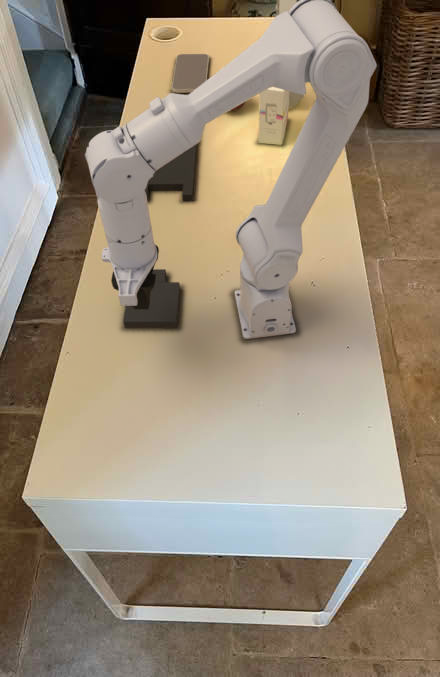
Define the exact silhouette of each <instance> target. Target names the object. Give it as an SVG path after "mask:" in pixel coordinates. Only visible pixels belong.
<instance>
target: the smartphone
mask: <svg viewBox="0 0 440 677" xmlns="http://www.w3.org/2000/svg"><path fill="white" fill-rule="evenodd" d="M209 56H210V55H209V54H207V53H179V54H177V55H176V58H175V66H174V72H173V78H172V84H171V90H172V93H175V94H182V93H184V94H190V93H191V92H193V91H194V90H195V89H197V88H198V87H199V86H200V85H202V84H203V83H204V82H205V81H207V80H208V71H209V62H210V57H209Z"/></svg>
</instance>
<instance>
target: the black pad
mask: <svg viewBox="0 0 440 677" xmlns="http://www.w3.org/2000/svg"><path fill="white" fill-rule="evenodd" d="M197 150H198V143H197V144H196V145H194V146H193V147H191V148H190V149H188V150H186V151H185V152H183V153H182V154H180V155H179V156H177V157H176V158H174V159H173V160H171V161H170V162H168V163H167V164H165V165H164V166H162V167H161V168H159V169H158V170H156V171H155V173H154V174H153V177H151V178H150V179H149V180H148V183H147V186H146V189H145V193H146V196H147V202H148V201H149V194H150V191H151V192H152V191H153V192H154V191H182V201H183V202H193V201H194V190H195V178H196V165H197V164H196V162H197Z"/></svg>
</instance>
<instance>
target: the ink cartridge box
mask: <svg viewBox="0 0 440 677" xmlns="http://www.w3.org/2000/svg"><path fill="white" fill-rule="evenodd" d="M289 94H290V91H287V90H283V89H279V88H276V87H270V88H268V89H267V90H265V91H263V92H261V93H260V94H258V95H259V96H258V97H259V100H258V101H259V102H258V103H259V104H258V105H259V106H258V110H259V111H258V115H259V116H258V143H259V144H268V145H279V146H281V145H283V142H284V139H285V134H286V130H287V129H286V128H287V124H288V120H289V109H290V108H289Z"/></svg>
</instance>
